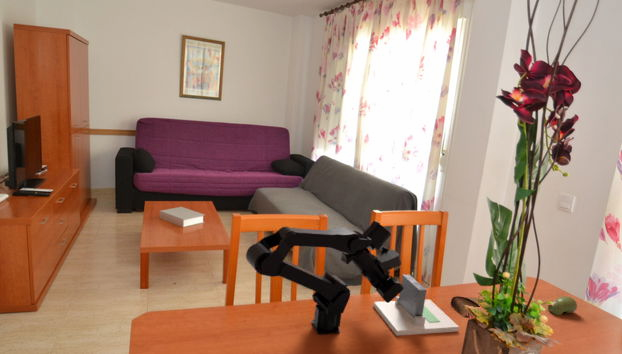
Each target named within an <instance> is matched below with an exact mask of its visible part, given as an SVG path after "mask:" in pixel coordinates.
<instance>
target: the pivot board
mask: <svg viewBox="0 0 622 354" xmlns="http://www.w3.org/2000/svg"><path fill="white" fill-rule="evenodd" d="M372 306H373V308H374V309H375V310H376V311H377V313H378V314H379V315H380V316H381V318H382V320H383V321H385V323H386V324H387V325H388V326H389V329H391V330H392V332H393V333H394V334H395V336H397V337H398V336H409V335H410V336H411V335H423V334H438V333H452V332H453V333H454V332H455V333H456V332H459V328H460V326H459V325H458V324H457V323H456V322H455V321H454V320H452V318H451V317H449V316H448V315H447V314H446V313H445V312H444V311H443V310H442V309H441V308H440V307H439V306H437V305H436V304H435V303H434V302H433V301H432V300H431V299H425V303H424V308H423V314H422V316H415V317H414V318H413V317H412V316H411V315H410V314H409V313H408V312H407V311H406V310H405V309H404V308H403V306H402V305H401V304H400V302H399V295H397V296H396V297H395V300H391V301H390V302H389V303H387V302H386V301H385V300H384V301H373V305H372Z"/></svg>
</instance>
